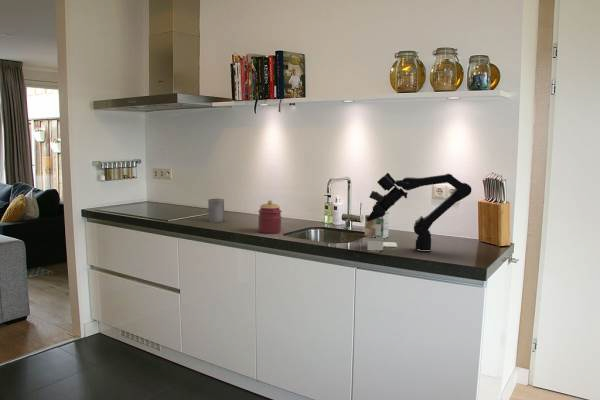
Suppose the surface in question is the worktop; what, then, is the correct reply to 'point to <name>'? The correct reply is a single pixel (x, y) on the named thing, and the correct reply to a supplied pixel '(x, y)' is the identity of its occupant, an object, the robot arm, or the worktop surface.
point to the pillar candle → (216, 210)
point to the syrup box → (382, 226)
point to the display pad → (389, 244)
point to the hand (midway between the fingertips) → (367, 219)
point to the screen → (375, 244)
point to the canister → (269, 218)
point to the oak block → (370, 226)
